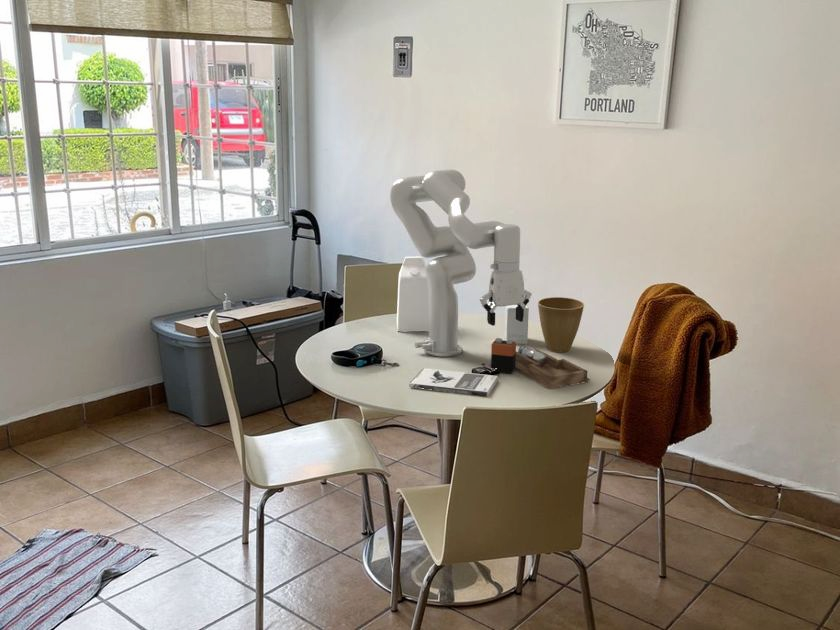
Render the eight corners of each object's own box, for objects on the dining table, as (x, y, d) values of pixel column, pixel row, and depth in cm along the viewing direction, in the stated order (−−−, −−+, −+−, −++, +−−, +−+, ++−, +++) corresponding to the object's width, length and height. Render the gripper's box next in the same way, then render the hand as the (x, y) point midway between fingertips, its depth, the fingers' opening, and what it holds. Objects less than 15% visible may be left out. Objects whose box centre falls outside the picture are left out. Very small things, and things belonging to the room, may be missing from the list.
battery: (494, 367, 243) (495, 336, 240) (515, 370, 240) (516, 338, 238) (490, 371, 239) (491, 340, 236) (512, 374, 236) (513, 342, 234)
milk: (428, 322, 291) (429, 253, 285) (431, 331, 280) (431, 260, 273) (396, 323, 291) (396, 254, 284) (397, 331, 280) (397, 260, 273)
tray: (549, 388, 225) (549, 377, 224) (504, 363, 246) (504, 352, 245) (589, 381, 230) (589, 370, 229) (541, 357, 252) (542, 347, 251)
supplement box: (527, 344, 266) (529, 308, 263) (505, 344, 266) (507, 308, 263) (525, 337, 273) (526, 302, 270) (504, 337, 273) (505, 302, 270)
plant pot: (528, 345, 265) (529, 299, 260) (566, 340, 270) (568, 295, 266) (550, 358, 251) (552, 310, 247) (590, 353, 256) (593, 306, 252)
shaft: (535, 367, 239) (535, 354, 238) (517, 357, 248) (518, 345, 247) (546, 365, 241) (546, 353, 240) (528, 356, 250) (529, 344, 249)
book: (497, 382, 231) (497, 375, 231) (487, 398, 219) (487, 391, 218) (423, 374, 238) (423, 368, 238) (409, 389, 225) (409, 383, 225)
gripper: (487, 271, 224) (486, 329, 228) (538, 266, 231) (536, 322, 235) (474, 267, 231) (474, 323, 235) (524, 262, 238) (523, 316, 242)
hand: (505, 322), depth 235 cm, fingers open, 9 cm apart
